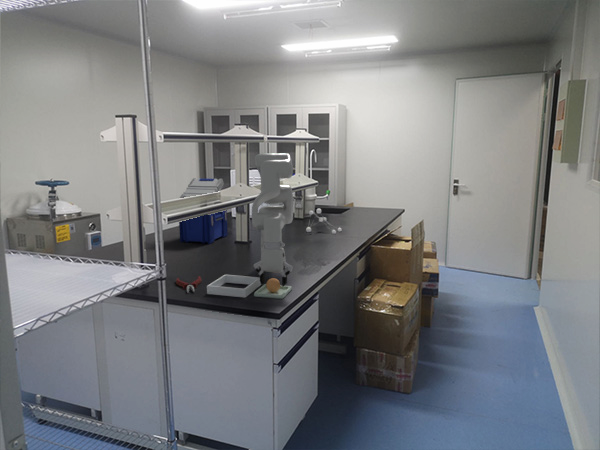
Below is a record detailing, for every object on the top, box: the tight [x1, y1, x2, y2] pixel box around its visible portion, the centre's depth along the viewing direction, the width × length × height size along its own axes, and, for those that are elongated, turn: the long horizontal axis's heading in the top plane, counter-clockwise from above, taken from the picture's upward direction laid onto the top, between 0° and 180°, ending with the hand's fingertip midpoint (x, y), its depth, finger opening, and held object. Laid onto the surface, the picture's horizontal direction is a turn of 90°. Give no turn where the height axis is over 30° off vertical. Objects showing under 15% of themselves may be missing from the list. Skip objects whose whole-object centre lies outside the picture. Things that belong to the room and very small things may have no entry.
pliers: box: [175, 276, 202, 294], centre depth 201 cm, size 12×20×3 cm, turn 17°
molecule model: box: [305, 208, 343, 235], centre depth 323 cm, size 14×25×18 cm, turn 78°
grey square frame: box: [206, 274, 262, 298], centre depth 198 cm, size 18×18×4 cm
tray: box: [253, 283, 293, 300], centre depth 193 cm, size 13×13×2 cm
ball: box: [265, 277, 281, 292], centre depth 192 cm, size 6×6×6 cm
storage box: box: [178, 177, 228, 245], centre depth 298 cm, size 29×23×40 cm
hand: (273, 284), depth 192 cm, fingers open, 9 cm apart
